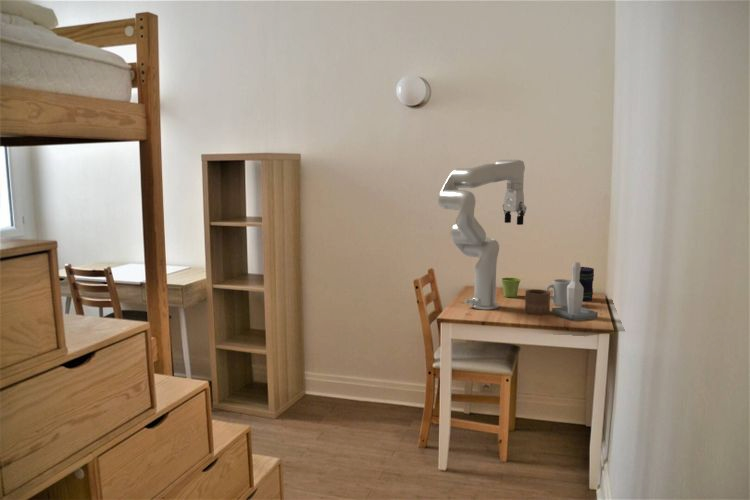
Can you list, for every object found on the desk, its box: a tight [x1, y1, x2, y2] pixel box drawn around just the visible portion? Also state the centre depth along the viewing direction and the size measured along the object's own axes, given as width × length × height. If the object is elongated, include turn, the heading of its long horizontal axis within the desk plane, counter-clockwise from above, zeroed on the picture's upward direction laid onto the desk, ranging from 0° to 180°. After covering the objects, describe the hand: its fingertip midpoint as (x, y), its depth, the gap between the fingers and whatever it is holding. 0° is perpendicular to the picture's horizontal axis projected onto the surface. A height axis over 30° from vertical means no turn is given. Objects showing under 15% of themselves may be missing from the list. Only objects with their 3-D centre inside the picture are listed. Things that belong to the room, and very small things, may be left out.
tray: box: [551, 306, 599, 322], centre depth 251 cm, size 13×13×2 cm
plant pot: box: [500, 277, 522, 299], centre depth 287 cm, size 9×9×9 cm
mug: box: [545, 278, 572, 307], centre depth 271 cm, size 12×8×11 cm
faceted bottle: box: [566, 261, 584, 314], centre depth 250 cm, size 6×6×22 cm
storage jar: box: [579, 266, 595, 303], centre depth 281 cm, size 10×10×15 cm
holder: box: [524, 288, 551, 316], centre depth 257 cm, size 10×10×9 cm
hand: (513, 223), depth 277 cm, fingers open, 9 cm apart
